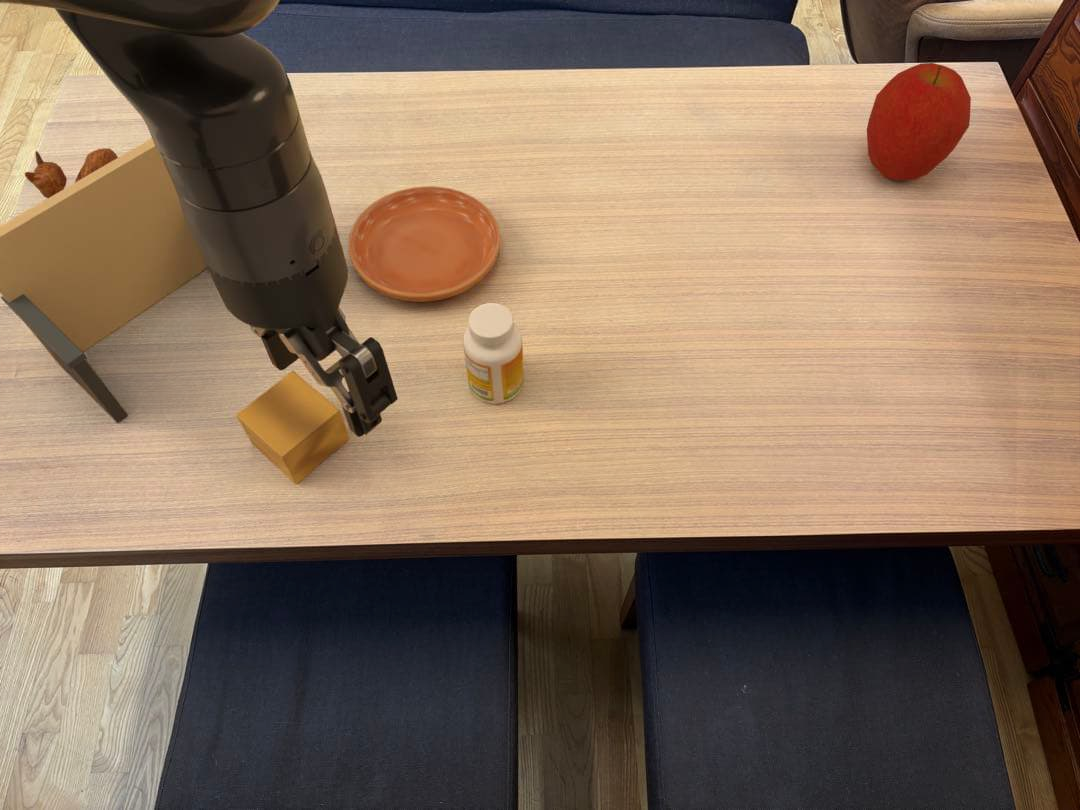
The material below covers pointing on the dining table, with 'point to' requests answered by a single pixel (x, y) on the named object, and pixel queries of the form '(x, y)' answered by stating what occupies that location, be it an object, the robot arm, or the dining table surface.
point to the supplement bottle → (493, 354)
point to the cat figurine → (54, 180)
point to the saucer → (424, 243)
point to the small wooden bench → (97, 260)
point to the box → (294, 426)
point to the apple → (917, 121)
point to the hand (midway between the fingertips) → (327, 393)
